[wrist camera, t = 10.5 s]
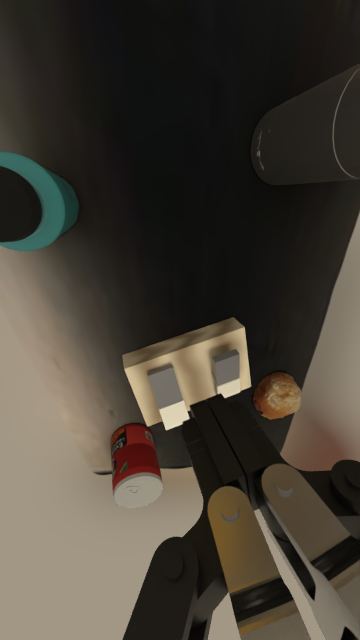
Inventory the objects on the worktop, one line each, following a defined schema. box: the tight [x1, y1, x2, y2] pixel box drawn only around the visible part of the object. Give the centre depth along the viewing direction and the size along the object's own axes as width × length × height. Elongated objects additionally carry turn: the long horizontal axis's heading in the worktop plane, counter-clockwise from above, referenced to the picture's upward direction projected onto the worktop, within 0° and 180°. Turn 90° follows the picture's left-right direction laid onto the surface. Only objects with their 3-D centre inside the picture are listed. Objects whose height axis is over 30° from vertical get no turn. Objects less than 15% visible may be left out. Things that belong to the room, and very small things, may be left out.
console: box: [122, 317, 251, 427], centre depth 45 cm, size 20×13×4 cm, turn 103°
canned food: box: [111, 424, 163, 508], centre depth 46 cm, size 8×8×11 cm
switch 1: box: [147, 364, 189, 430], centre depth 41 cm, size 4×10×2 cm, turn 13°
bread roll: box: [253, 372, 301, 419], centre depth 54 cm, size 10×10×8 cm
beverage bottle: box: [0, 152, 81, 251], centre depth 22 cm, size 6×7×20 cm
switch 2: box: [212, 349, 240, 398], centre depth 42 cm, size 4×10×2 cm, turn 13°
